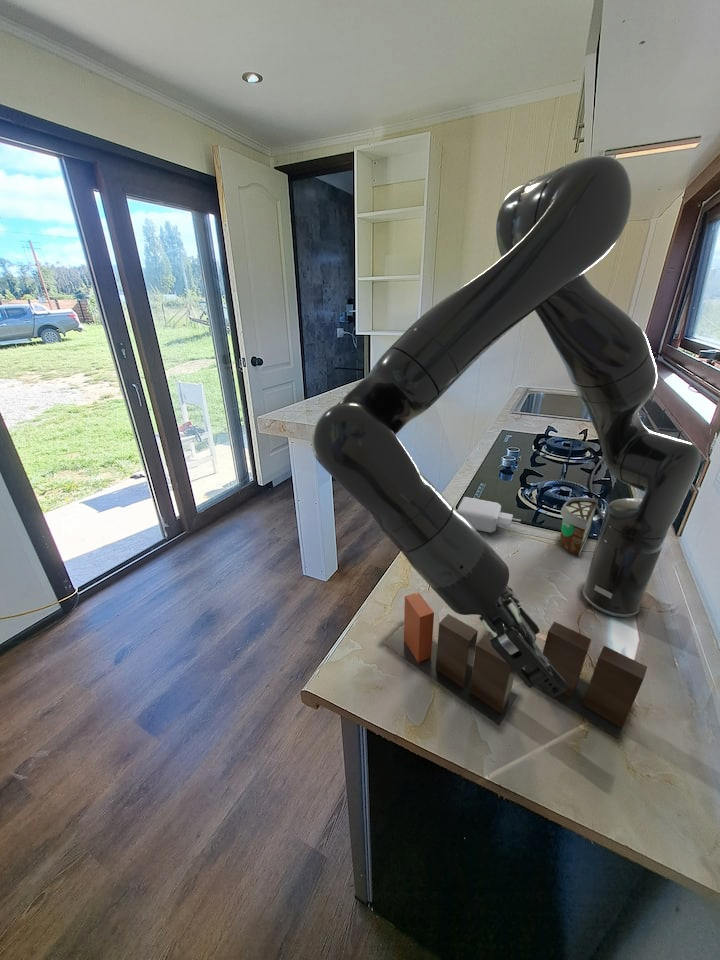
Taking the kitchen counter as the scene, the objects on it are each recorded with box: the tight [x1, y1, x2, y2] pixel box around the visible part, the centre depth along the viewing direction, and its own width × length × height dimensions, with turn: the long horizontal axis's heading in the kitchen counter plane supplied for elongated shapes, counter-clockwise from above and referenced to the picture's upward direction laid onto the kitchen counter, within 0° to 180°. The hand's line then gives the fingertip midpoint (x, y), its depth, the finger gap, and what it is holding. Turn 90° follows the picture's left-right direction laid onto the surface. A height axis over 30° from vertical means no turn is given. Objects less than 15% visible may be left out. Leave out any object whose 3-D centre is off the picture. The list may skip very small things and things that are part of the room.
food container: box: [559, 496, 599, 557], centre depth 89 cm, size 12×6×10 cm, turn 141°
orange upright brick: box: [403, 591, 435, 662], centre depth 63 cm, size 2×5×10 cm, turn 22°
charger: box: [456, 496, 522, 534], centre depth 98 cm, size 5×9×15 cm
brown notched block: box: [486, 621, 648, 741], centre depth 57 cm, size 6×21×10 cm, turn 47°
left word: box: [383, 613, 518, 727], centre depth 59 cm, size 6×21×10 cm, turn 47°
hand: (544, 659), depth 43 cm, fingers open, 8 cm apart
